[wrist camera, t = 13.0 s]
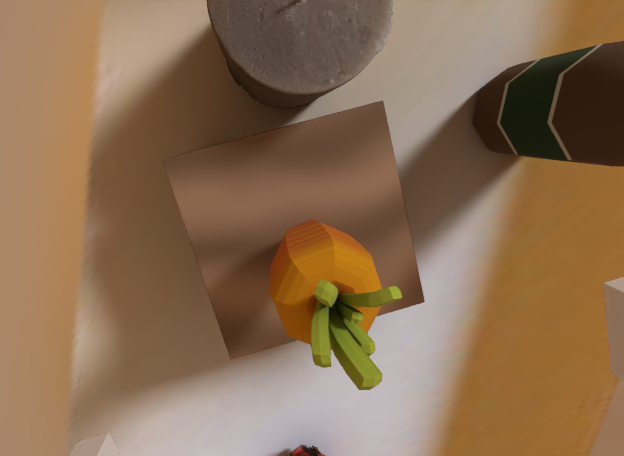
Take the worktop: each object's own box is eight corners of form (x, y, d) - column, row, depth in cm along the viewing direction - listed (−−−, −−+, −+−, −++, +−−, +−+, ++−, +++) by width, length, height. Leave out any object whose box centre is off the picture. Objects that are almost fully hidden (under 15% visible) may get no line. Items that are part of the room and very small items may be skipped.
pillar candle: (213, 92, 35) (183, 67, 21) (236, -38, 33) (221, -165, 19) (329, 120, 37) (375, 115, 22) (357, -2, 35) (428, -93, 20)
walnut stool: (187, 151, 36) (162, 159, 26) (349, 107, 37) (383, 100, 27) (237, 302, 39) (230, 359, 30) (384, 259, 40) (424, 301, 30)
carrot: (266, 197, 27) (276, 277, 13) (343, 199, 28) (435, 279, 14) (264, 271, 29) (271, 423, 14) (338, 272, 29) (418, 418, 15)
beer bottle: (568, 97, 39) (1031, 52, 16) (518, 172, 40) (883, 236, 17) (502, 48, 37) (912, -85, 14) (452, 128, 38) (755, 130, 15)
